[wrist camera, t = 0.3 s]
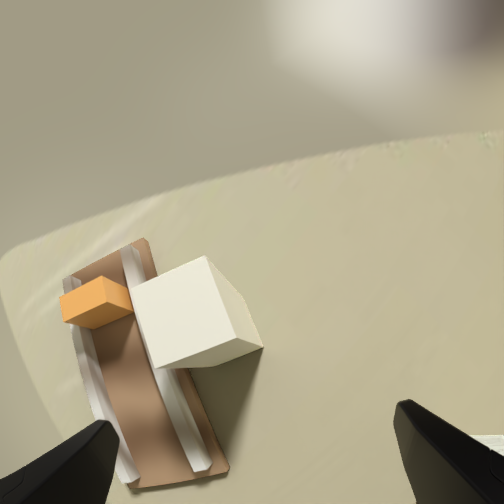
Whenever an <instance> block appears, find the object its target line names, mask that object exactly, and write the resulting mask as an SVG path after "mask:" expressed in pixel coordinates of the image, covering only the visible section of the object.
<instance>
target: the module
mask: <svg viewBox="0 0 504 504" xmlns="http://www.w3.org/2000/svg"><path fill="white" fill-rule="evenodd" d="M131 290H132V294H133V298H134V302H135V306H136V309H137V313H138V316H139V320H140V323H141V327H142V330H143V333H144V337H145V340H146V343H147V346H148V349H149V353H150V356H151V359H152V362H153V365H154V368H155V369H161V368H197V367H215V366H217V365H220V364H223V363H225V362H228V361H230V360H233V359H235V358H238V357H241V356H243V355H246V354H248V353H250V352H253V351H255V350H258V349H260V348H263V347H264V346H263V344H262V342H261V339H260V337H259V334H258V332H257V330H256V327H255V325H254V322H253V320H252V318H251V315H250V313H249V310H248V308H247V306H246V303H245V301H244V298H243V297H242V296H241V295H240V294H239V293H238V292H237V291H236V290H235V288H234V287H233V286H232V285H231V284H230V283H229V282H228V281H227V279H226V278H225V277H224V276H223V275H222V274H221V273H220V272H219V270H218V269H217V268H216V267H215V266H214V265H213V264H212V263H211V261H210V260H209V259H208V258H207V257H206V256H205V255H204V256H201V257H199V258H197V259H195V260H192V261H190V262H188V263H186V264H184V265H181V266H179V267H177V268H175V269H173V270H170V271H168V272H166V273H164V274H162V275H159V276H157V277H155V278H153V279H151V280H148V281H146V282H144V283H142V284H140V285H138V286H135V287H133V288H131Z"/></svg>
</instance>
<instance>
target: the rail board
mask: <svg viewBox="0 0 504 504" xmlns="http://www.w3.org/2000/svg"><path fill="white" fill-rule="evenodd" d="M100 276H103V277H105V278H107V279H109V280H111V281H113V282H116V283H118V284H120V285H122V286H124V287H126V288H128V289H129V292H130V296H131V300H132V304H133V307H134V311H135V312H133V313H131V314H129V315H126V316H124V317H122V318H120V319H117V320H115V321H113V322H110V323H108V324H106V325H103V326H101V327H99V328H96V329H90V328H86V327H81V326H77V325H73V324H70V328H71V333H72V338H73V342H74V347H75V351H76V355H77V359H78V363H79V367H80V371H81V375H82V378H83V382H84V385H85V389H86V392H87V395H88V399H89V402H90V405H91V408H92V411H93V414H94V417H95V420H99V419H102V420H108V421H110V422H111V423H112V425H113V427H114V429H115V430H116V432H117V434H118V436H119V438H120V444H119V449H118V454H117V459H116V464H115V470H116V472H117V474H118V477H119V479H120V481H121V483H127V484H128V486H129V488H130V489H132V488H141V487H149V486H157V485H164V484H170V483H176V482H182V481H187V480H192V479H197V478H202V477H207V476H211V475H215V474H220V473H224V472H227V471H228V470H229V468H230V466H229V464H228V462H227V460H226V458H225V456H224V453H223V451H222V449H221V447H220V445H219V443H218V440H217V438H216V436H215V434H214V431H213V429H212V427H211V424H210V422H209V420H208V417H207V415H206V412H205V410H204V408H203V405H202V403H201V400H200V398H199V395H198V393H197V390H196V388H195V385H194V383H193V380H192V377H191V375H190V372H189V369H188V368H161V369H155V368H154V365H153V362H152V359H151V356H150V353H149V349H148V346H147V343H146V340H145V337H144V333H143V330H142V327H141V323H140V320H139V316H138V313H137V309H136V306H135V302H134V298H133V294H132V290H131V288H133V287H135V286H138V285H140V284H142V283H144V282H146V281H148V280H151V279H153V278H155V277H157V272H156V269H155V265H154V262H153V258H152V255H151V251H150V247H149V243H148V241H147V240H145V239H144V238H141V239H139V240H137V241H135V242H133V243H131V244H129V245H127V246H125V247H123V248H121V249H119V250H117V251H115V252H113V253H111V254H109V255H108V256H106V257H104V258H102V259H100V260H98V261H96V262H94V263H92V264H90V265H89V266H87V267H85V268H83V269H81V270H79V271H77V272H76V273H74V274H72V275H70V276H68V277H66V278H64V279H62V280H63V287H64V294H67V293H69V292H70V291H72V290H74V289H76V288H78V287H80V286H82V285H84V284H86V283H88V282H90V281H92V280H94V279H96V278H98V277H100Z"/></svg>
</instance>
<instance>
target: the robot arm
mask: <svg viewBox="0 0 504 504" xmlns="http://www.w3.org/2000/svg"><path fill="white" fill-rule="evenodd" d="M393 424H394V429H395V433H396V437H397V441H398V445H399V449H400V453H401V457H402V461H403V465H404V468H405V471H406V474H407V476H408V479H409V482H410V484H411V487H412V490H413V492H414V495H415V498H416V501H417V503H418V504H504V456H503V455H501V454H499V453H498V452H496V451H494V450H493V449H491V450H490V448H489V447H487V446H486V445H484V444H482V443H481V442H479V441H477V440H476V439H474V438H472V437H471V436H469V435H467V434H466V433H464V432H462V431H461V430H459V429H458V428H456V427H454V426H453V425H451V424H449V423H448V422H446V421H445V420H443V419H441V418H440V417H438V416H437V415H435V414H433V413H432V412H430V411H429V410H427V409H425V408H424V407H422V406H421V405H419V404H418V403H416V402H414V401H413V400H411V399H407V400H403V401H400V402H398V403H397V405H396V410H395V415H394V420H393ZM119 444H120V438H119V436H118V434H117V432H116V430H115V429H114V427H113V425H112V423H111V422H110V421H108V420H102V419H99V420H96V421H95V422H93V423H92V424H90V425H89V426H87V427H86V428H84V429H83V430H81V431H80V432H78V433H77V434H75V435H74V436H72V437H71V438H69V439H68V440H66V441H64V442H63V443H61V444H60V445H58V446H57V447H55V448H54V449H52V450H50V451H49V452H47V453H45V454H44V455H42V456H41V457H39V458H37V459H36V460H34V461H32V462H31V463H29V464H28V465H26V466H24V467H22V468H21V469H19V470H17V471H16V472H14V473H12V474H10V475H8V476H6V477H4V478H2V479H0V504H105V502H106V499H107V496H108V492H109V489H110V486H111V482H112V479H113V475H114V470H115V464H116V459H117V454H118V449H119Z"/></svg>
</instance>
